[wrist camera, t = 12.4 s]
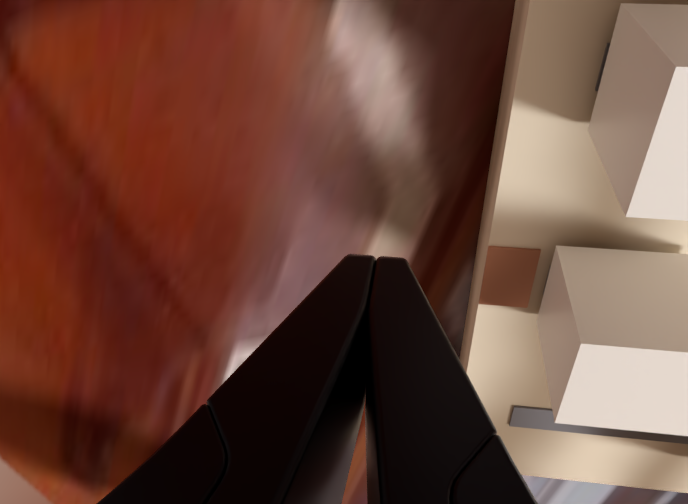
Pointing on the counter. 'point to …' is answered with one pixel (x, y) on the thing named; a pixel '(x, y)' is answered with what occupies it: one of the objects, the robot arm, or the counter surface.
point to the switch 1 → (646, 111)
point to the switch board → (554, 246)
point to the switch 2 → (617, 339)
